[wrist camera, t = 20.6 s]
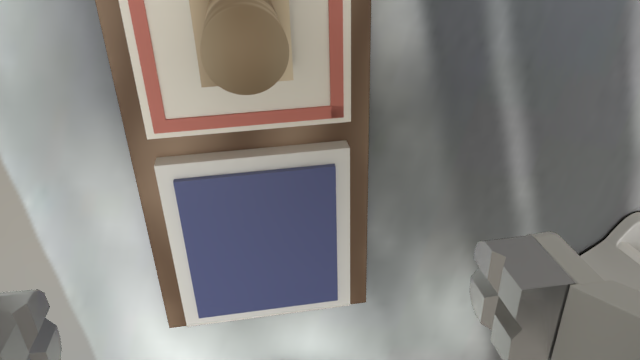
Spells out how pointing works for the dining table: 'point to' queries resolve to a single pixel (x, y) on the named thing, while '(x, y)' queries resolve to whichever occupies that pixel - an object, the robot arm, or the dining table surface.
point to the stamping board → (151, 149)
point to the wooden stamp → (242, 43)
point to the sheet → (225, 107)
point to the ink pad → (258, 230)
